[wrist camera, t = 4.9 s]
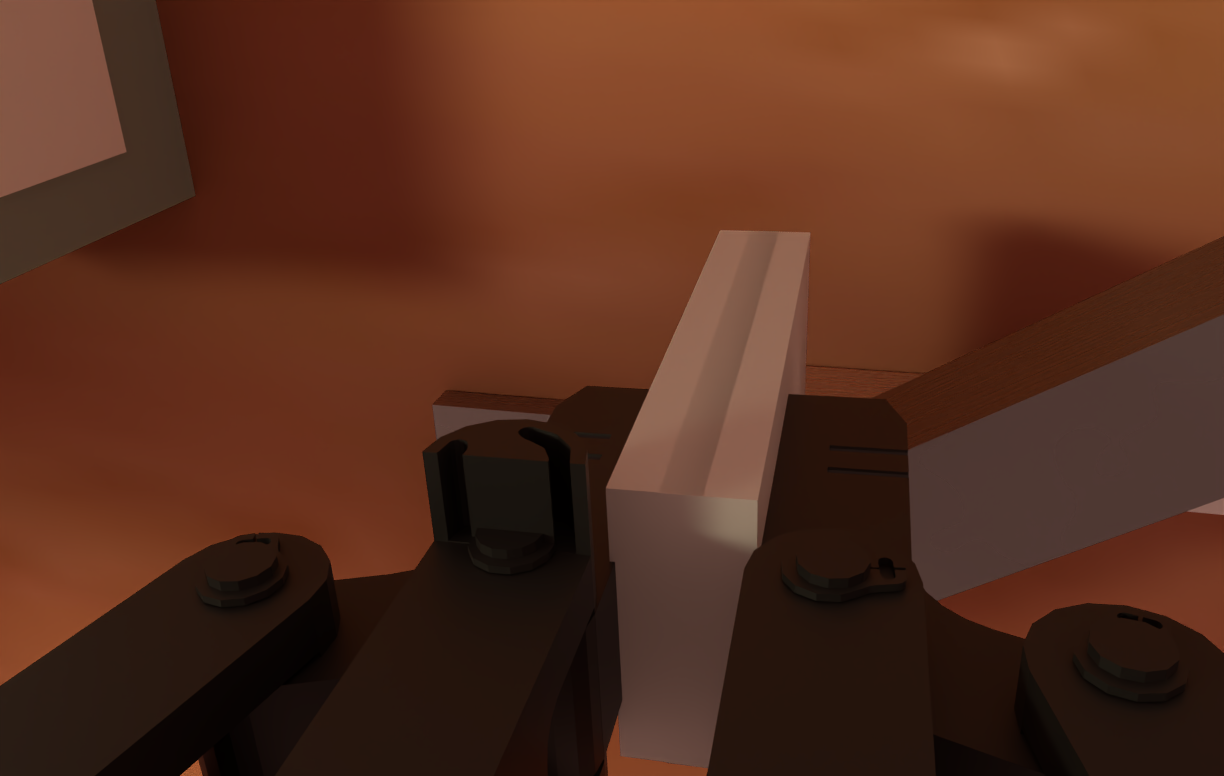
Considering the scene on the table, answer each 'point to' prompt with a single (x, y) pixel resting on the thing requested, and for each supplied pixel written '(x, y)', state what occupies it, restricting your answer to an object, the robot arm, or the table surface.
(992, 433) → the cable arm
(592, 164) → the table surface
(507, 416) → the post
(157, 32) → the panel
